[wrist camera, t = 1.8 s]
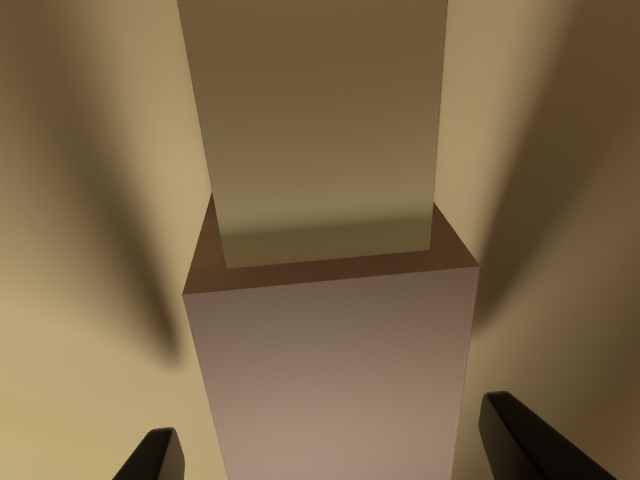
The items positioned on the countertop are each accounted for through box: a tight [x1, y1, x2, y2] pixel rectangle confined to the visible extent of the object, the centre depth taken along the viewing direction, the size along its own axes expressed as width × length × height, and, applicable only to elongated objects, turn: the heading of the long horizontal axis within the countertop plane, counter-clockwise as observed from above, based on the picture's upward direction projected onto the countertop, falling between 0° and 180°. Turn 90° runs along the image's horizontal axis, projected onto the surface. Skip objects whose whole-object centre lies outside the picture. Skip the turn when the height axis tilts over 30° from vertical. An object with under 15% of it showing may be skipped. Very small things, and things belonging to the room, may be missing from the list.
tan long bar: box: [177, 0, 480, 480], centre depth 8 cm, size 15×3×3 cm, turn 3°
